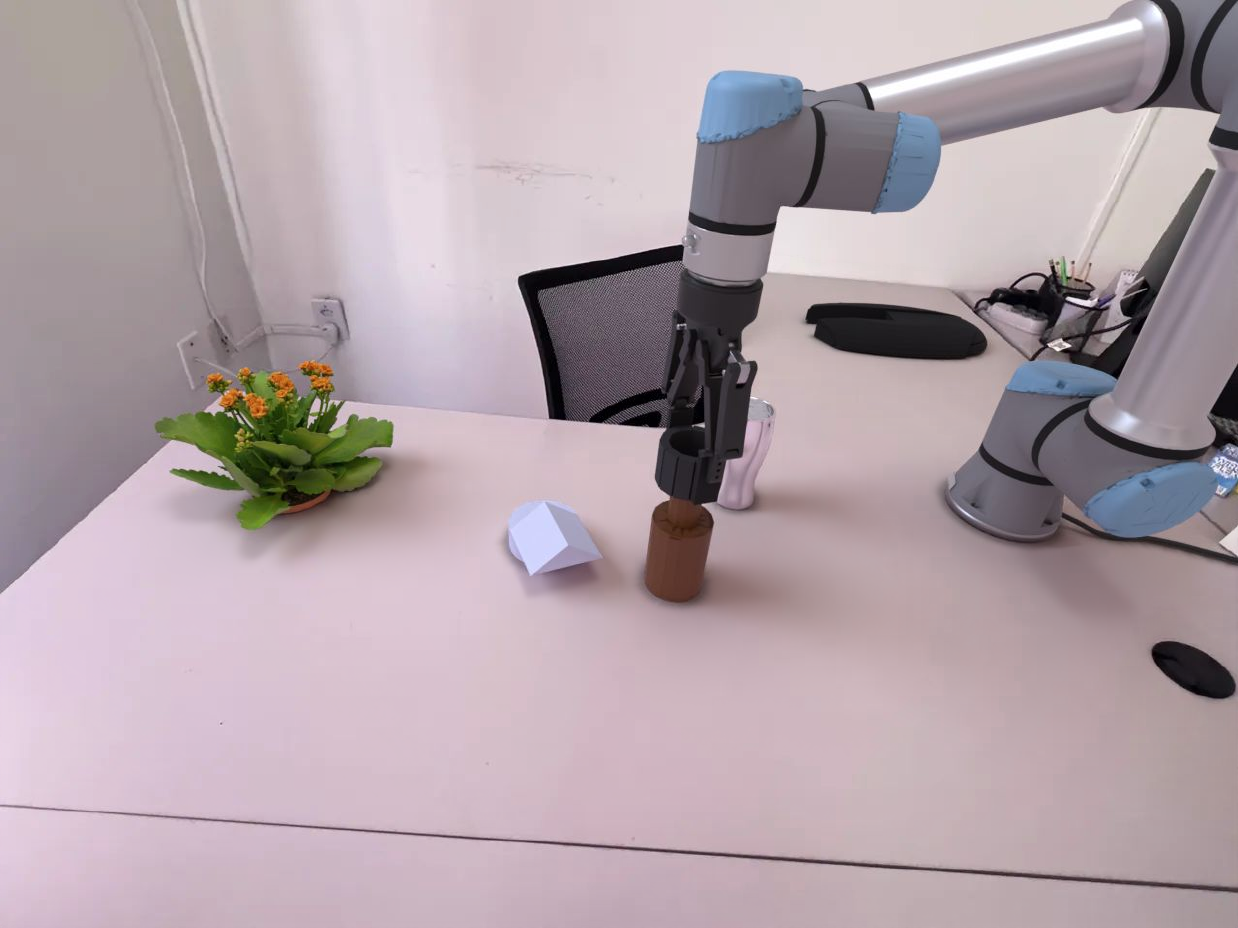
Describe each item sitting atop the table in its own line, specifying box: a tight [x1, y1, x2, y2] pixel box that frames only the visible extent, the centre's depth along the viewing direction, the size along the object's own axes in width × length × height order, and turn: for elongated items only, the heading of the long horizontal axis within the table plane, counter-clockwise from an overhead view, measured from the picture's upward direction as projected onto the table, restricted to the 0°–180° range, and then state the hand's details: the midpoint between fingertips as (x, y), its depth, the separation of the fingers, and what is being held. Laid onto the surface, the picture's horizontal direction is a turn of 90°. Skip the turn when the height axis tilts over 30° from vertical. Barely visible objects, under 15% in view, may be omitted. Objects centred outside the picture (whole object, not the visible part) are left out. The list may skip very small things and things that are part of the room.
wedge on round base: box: [507, 499, 604, 577], centre depth 81 cm, size 9×7×13 cm
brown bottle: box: [644, 496, 715, 603], centre depth 75 cm, size 7×7×16 cm
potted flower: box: [153, 360, 395, 531], centre depth 83 cm, size 25×24×18 cm
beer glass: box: [716, 396, 777, 510], centre depth 91 cm, size 7×7×15 cm
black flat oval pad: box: [804, 302, 988, 359], centre depth 149 cm, size 25×40×5 cm, turn 89°
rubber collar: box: [654, 424, 727, 502], centre depth 70 cm, size 7×7×5 cm
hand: (688, 479), depth 71 cm, fingers closed on rubber collar, 7 cm apart
